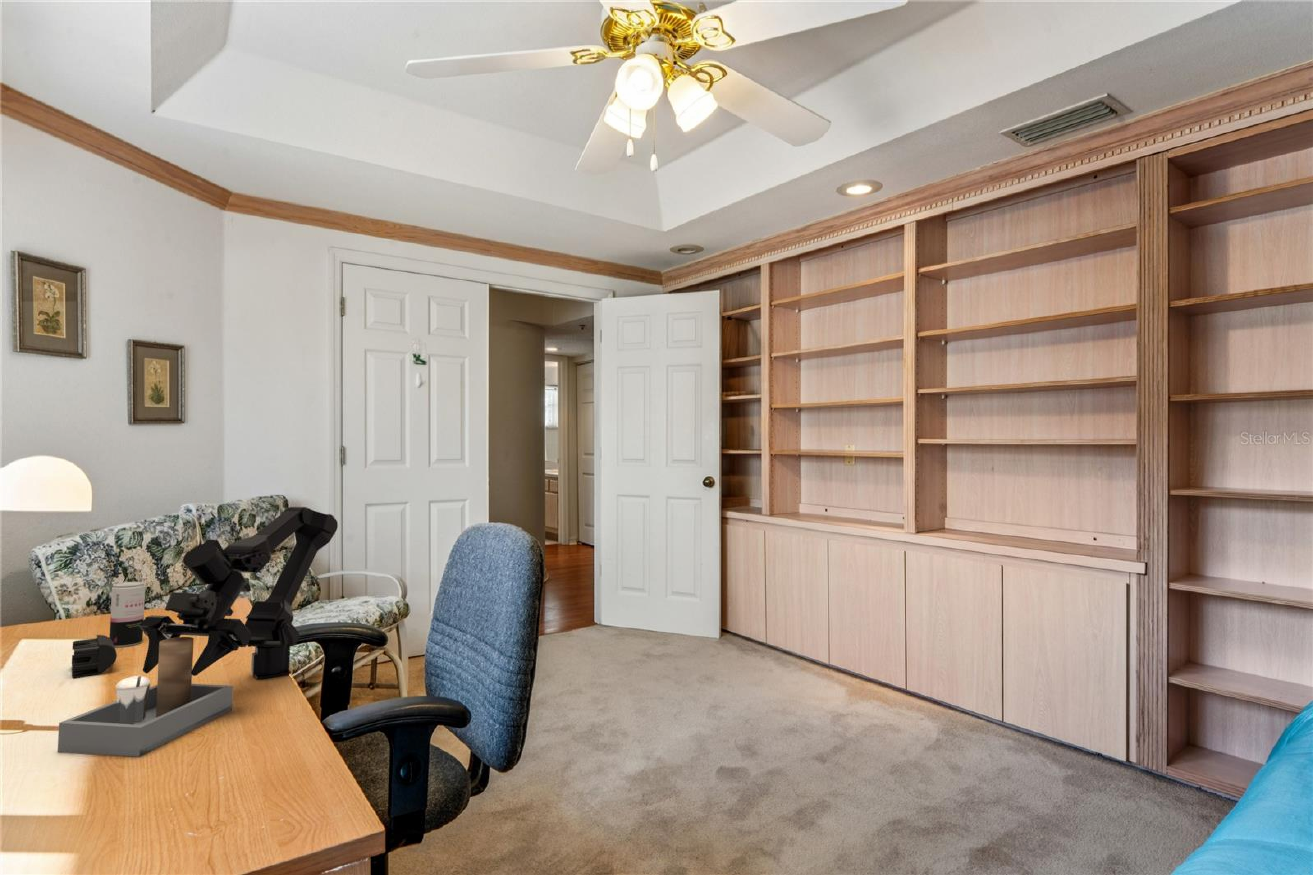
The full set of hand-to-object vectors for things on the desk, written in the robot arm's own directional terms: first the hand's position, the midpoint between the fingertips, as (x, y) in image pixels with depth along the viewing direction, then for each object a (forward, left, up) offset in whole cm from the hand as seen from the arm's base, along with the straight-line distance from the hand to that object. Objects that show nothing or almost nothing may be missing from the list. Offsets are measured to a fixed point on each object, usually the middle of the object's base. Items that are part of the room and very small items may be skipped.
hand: (168, 673), depth 118 cm
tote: (+2, +2, -9) cm, 9 cm away
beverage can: (+4, -67, -9) cm, 67 cm away
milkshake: (+5, +6, -8) cm, 11 cm away
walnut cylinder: (-1, -1, -8) cm, 8 cm away
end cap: (+10, -45, -9) cm, 47 cm away
